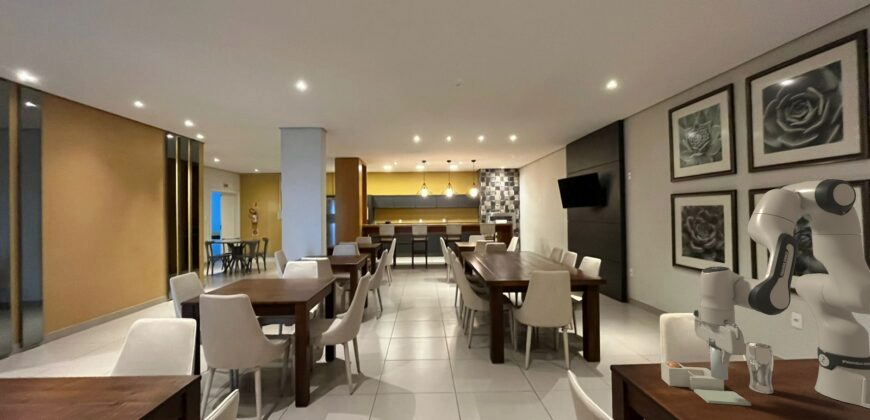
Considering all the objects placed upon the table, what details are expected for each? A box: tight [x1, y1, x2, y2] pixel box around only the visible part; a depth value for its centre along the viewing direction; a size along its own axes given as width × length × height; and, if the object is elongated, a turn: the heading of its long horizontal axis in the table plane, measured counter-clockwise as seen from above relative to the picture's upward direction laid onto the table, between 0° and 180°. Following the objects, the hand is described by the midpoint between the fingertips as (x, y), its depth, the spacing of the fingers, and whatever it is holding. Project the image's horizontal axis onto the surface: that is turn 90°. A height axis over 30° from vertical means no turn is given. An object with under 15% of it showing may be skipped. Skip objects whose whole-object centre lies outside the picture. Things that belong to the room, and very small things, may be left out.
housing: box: [660, 361, 725, 391], centre depth 127 cm, size 16×10×6 cm, turn 81°
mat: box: [693, 389, 752, 407], centre depth 116 cm, size 12×8×1 cm, turn 81°
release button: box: [668, 361, 679, 368], centre depth 128 cm, size 3×3×4 cm
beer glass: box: [745, 341, 774, 395], centre depth 122 cm, size 7×7×15 cm
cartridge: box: [709, 338, 729, 381], centre depth 116 cm, size 5×5×12 cm
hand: (719, 359), depth 116 cm, fingers closed on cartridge, 4 cm apart
